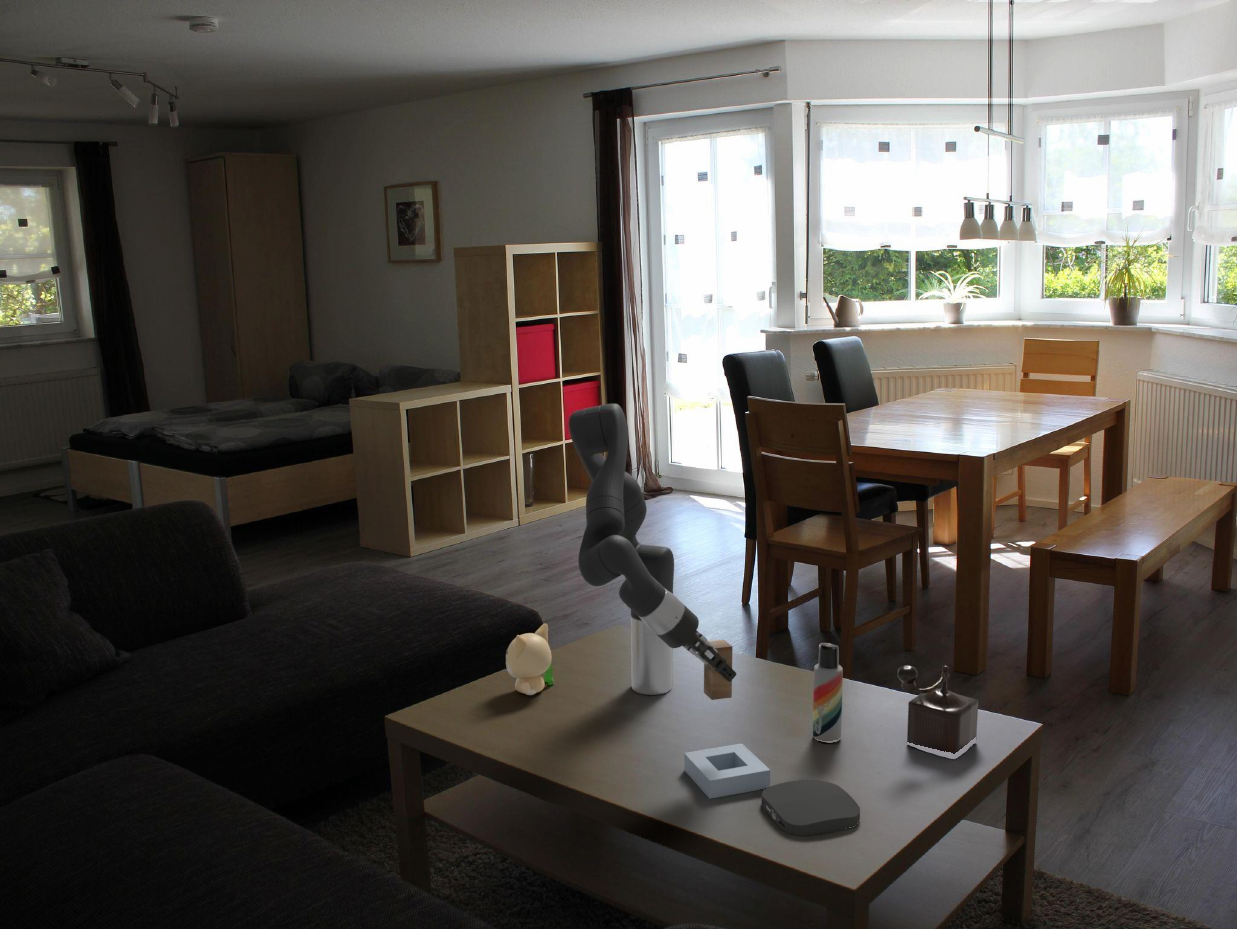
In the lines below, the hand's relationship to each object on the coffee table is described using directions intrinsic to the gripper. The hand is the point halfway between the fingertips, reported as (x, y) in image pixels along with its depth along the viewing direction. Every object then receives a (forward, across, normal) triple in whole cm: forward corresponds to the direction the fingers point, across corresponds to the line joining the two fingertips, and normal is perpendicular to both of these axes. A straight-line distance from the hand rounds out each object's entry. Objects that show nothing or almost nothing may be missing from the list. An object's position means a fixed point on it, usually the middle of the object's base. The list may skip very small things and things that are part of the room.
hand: (727, 673), depth 202 cm
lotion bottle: (+30, +5, -4) cm, 31 cm away
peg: (+2, 0, +4) cm, 5 cm away
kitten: (-6, +50, +32) cm, 59 cm away
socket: (+12, -5, +15) cm, 19 cm away
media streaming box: (+19, -21, +9) cm, 29 cm away
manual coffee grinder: (+42, -6, -17) cm, 46 cm away
